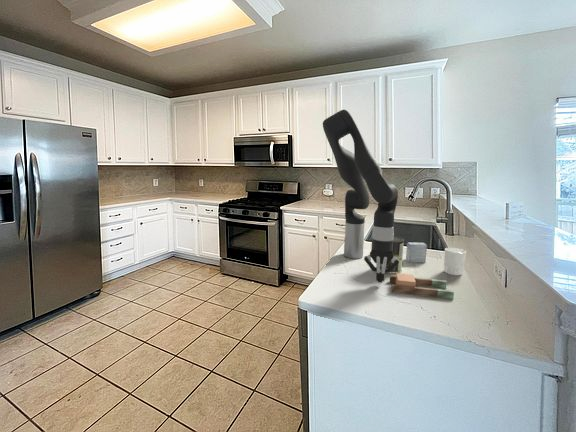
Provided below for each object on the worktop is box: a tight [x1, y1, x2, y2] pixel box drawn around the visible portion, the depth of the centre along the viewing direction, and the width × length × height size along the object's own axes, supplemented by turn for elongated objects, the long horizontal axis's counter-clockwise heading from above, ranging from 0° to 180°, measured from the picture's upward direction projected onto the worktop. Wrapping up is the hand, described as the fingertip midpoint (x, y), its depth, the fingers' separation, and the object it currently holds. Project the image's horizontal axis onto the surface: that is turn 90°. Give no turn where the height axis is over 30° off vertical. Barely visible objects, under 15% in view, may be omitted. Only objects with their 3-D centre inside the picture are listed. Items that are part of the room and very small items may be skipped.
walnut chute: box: [389, 275, 455, 300], centre depth 106 cm, size 20×10×2 cm, turn 75°
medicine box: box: [405, 241, 428, 263], centre depth 137 cm, size 8×4×9 cm, turn 84°
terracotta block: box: [394, 273, 417, 287], centre depth 107 cm, size 6×7×4 cm
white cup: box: [443, 247, 467, 276], centre depth 122 cm, size 8×8×10 cm
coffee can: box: [380, 235, 405, 275], centre depth 125 cm, size 10×10×14 cm
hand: (379, 281), depth 109 cm, fingers closed
